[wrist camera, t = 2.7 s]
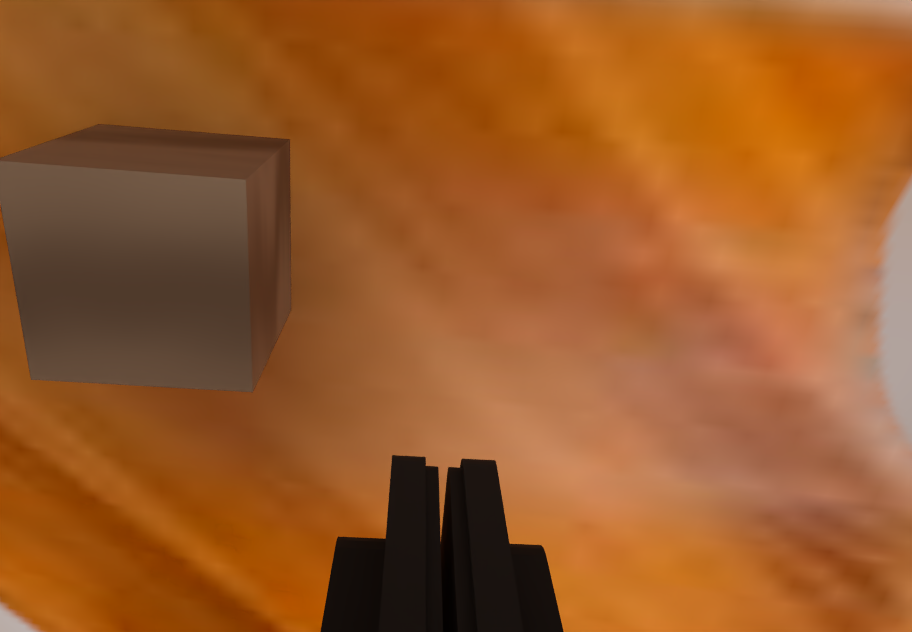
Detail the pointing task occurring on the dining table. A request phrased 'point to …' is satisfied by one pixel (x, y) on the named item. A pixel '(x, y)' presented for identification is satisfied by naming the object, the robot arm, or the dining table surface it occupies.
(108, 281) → the block
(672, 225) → the dining table surface
